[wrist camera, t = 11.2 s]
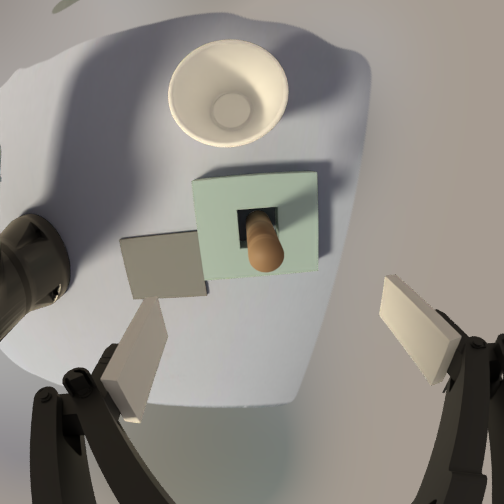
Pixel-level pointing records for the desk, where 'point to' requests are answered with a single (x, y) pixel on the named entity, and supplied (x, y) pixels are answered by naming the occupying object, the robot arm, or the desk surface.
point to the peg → (263, 243)
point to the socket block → (249, 197)
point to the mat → (164, 265)
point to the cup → (228, 93)
